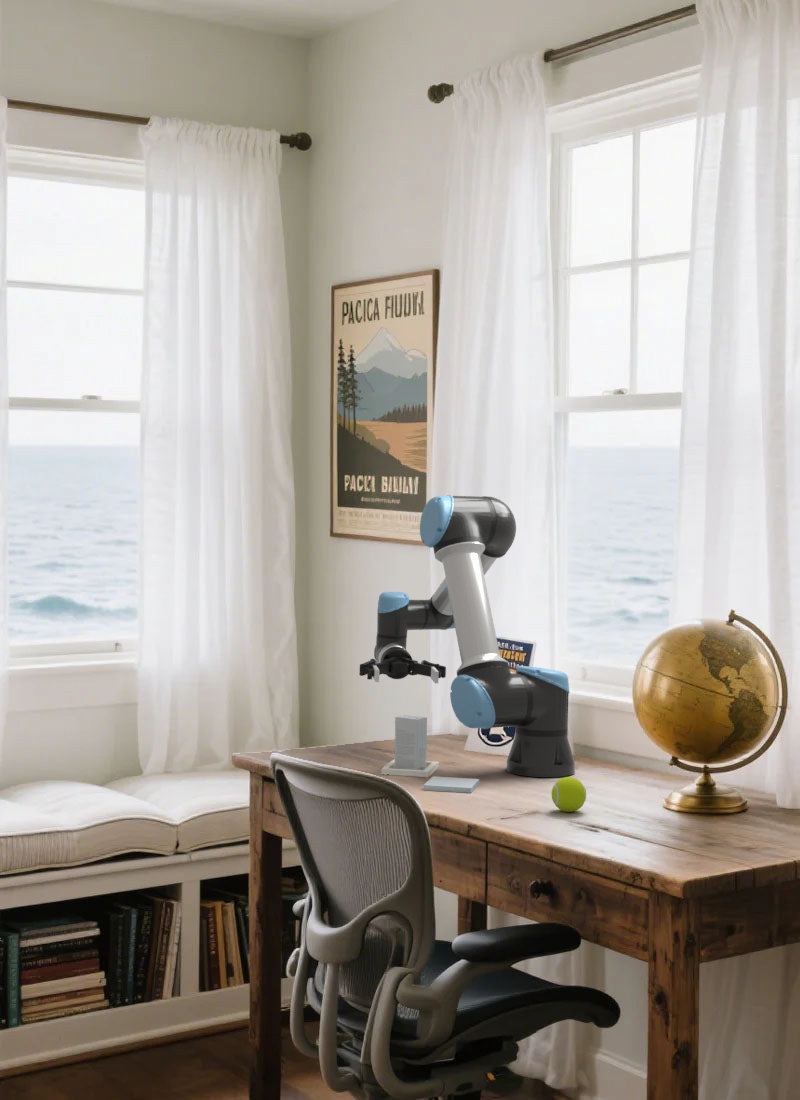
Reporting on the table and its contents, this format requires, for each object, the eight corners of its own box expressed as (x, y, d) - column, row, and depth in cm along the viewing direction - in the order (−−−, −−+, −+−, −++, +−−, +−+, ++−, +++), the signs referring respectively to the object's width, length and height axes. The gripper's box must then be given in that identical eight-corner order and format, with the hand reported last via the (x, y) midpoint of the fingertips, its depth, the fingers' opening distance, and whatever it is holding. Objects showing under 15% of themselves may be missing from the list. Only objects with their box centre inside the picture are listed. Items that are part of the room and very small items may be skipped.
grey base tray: (438, 767, 315) (438, 761, 315) (428, 777, 303) (428, 771, 303) (393, 764, 318) (393, 759, 318) (380, 774, 305) (381, 768, 305)
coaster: (479, 783, 297) (479, 779, 297) (471, 792, 287) (471, 788, 287) (432, 780, 299) (432, 776, 299) (423, 789, 289) (423, 785, 289)
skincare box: (427, 771, 311) (428, 717, 310) (417, 773, 307) (418, 719, 307) (403, 767, 314) (404, 714, 313) (393, 770, 310) (394, 716, 310)
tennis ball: (547, 808, 274) (547, 774, 274) (580, 807, 275) (580, 773, 275) (556, 815, 267) (557, 780, 267) (590, 815, 268) (591, 780, 268)
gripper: (445, 677, 341) (460, 694, 320) (343, 675, 338) (352, 692, 317) (447, 647, 341) (462, 661, 320) (345, 644, 337) (353, 659, 316)
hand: (407, 676), depth 318 cm, fingers open, 13 cm apart
